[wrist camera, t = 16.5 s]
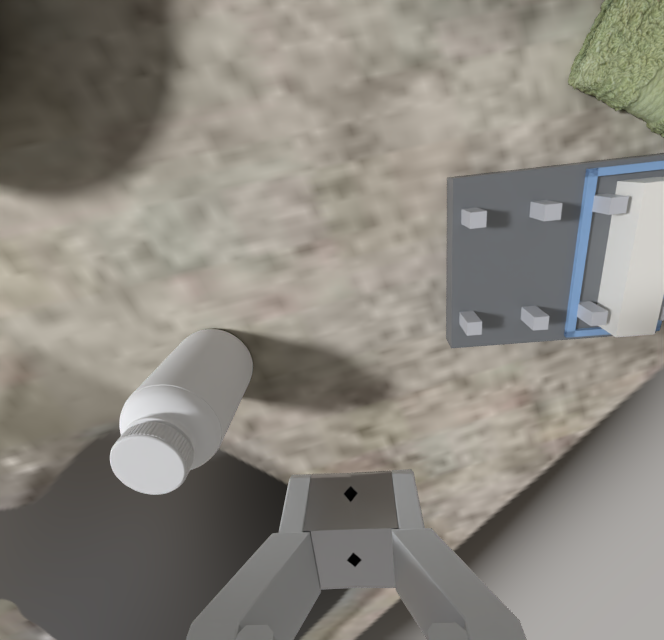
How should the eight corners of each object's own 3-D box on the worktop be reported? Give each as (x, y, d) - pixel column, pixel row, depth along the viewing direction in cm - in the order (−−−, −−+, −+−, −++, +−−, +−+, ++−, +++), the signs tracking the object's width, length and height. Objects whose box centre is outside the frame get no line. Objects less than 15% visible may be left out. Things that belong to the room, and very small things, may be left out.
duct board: (447, 177, 32) (461, 179, 27) (677, 151, 30) (729, 149, 26) (446, 338, 37) (458, 361, 33) (640, 324, 36) (678, 345, 32)
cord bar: (617, 181, 29) (645, 183, 27) (658, 176, 29) (691, 178, 26) (594, 323, 34) (615, 337, 31) (629, 320, 34) (654, 334, 31)
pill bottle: (270, 366, 39) (227, 475, 26) (218, 405, 42) (152, 526, 28) (215, 310, 37) (135, 397, 23) (163, 355, 40) (63, 459, 26)
